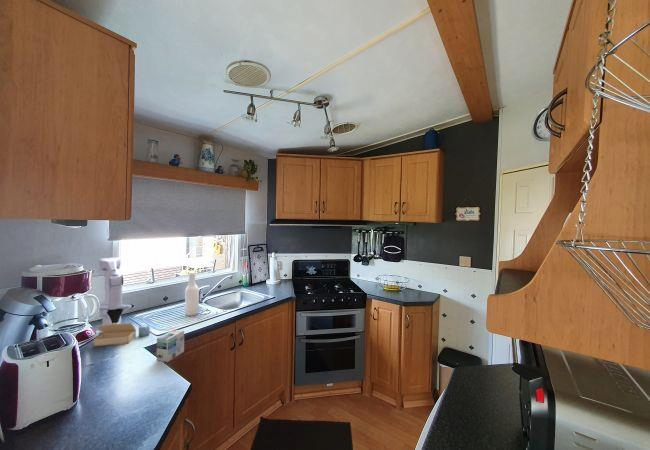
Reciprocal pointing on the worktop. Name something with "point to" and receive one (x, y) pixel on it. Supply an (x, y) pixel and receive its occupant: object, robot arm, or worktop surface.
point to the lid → (116, 328)
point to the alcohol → (191, 296)
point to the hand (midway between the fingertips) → (115, 322)
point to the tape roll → (144, 330)
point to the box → (114, 338)
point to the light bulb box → (170, 345)
